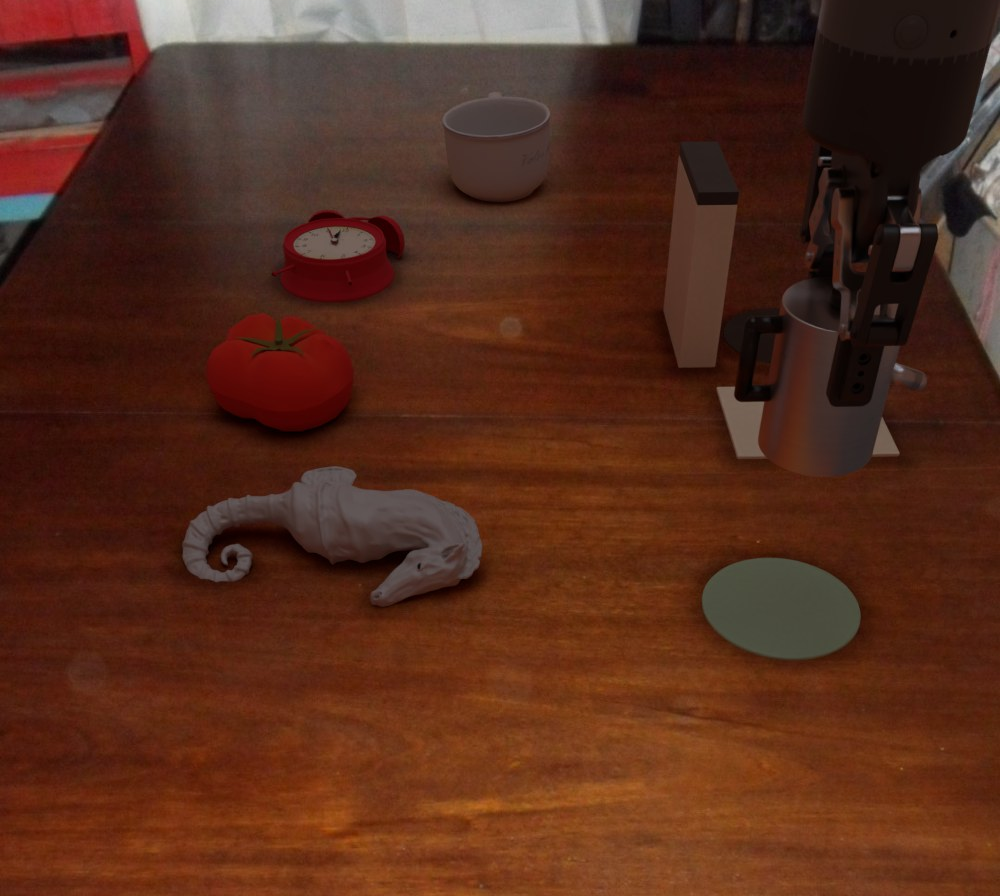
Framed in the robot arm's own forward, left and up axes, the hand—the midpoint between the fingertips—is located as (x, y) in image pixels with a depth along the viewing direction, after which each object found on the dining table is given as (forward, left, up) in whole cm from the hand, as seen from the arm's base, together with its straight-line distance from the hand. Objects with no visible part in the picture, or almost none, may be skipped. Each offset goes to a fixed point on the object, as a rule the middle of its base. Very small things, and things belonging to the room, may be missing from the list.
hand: (831, 368), depth 64 cm
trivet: (0, 0, -17) cm, 17 cm away
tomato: (+34, -26, -17) cm, 46 cm away
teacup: (+16, -70, -17) cm, 74 cm away
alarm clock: (+31, -50, -17) cm, 61 cm away
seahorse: (+29, -6, -17) cm, 34 cm away
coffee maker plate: (-7, -35, -17) cm, 40 cm away
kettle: (0, 0, -5) cm, 5 cm away
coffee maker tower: (+1, -35, -17) cm, 39 cm away
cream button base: (-6, -21, -17) cm, 28 cm away
